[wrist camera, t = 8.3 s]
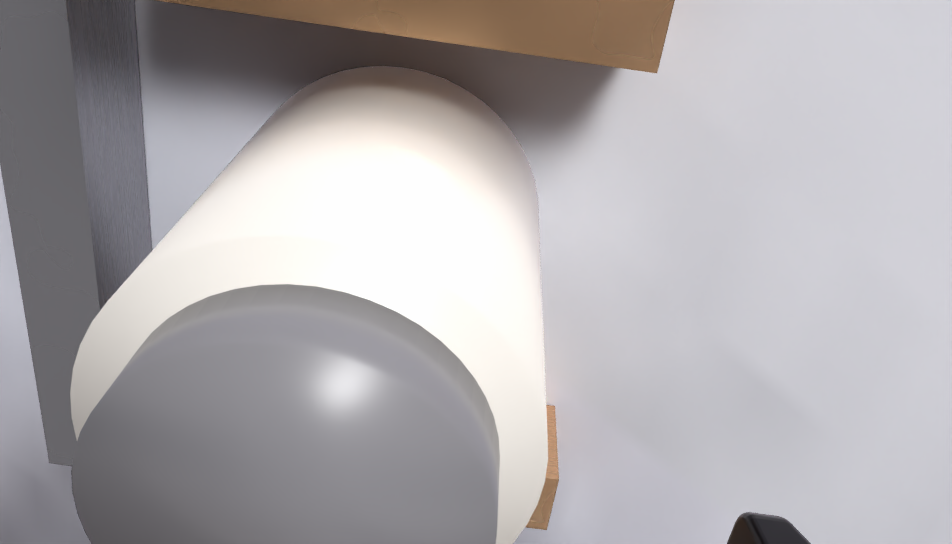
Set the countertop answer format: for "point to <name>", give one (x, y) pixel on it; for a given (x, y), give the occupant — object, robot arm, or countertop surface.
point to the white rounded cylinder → (329, 337)
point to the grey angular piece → (123, 154)
